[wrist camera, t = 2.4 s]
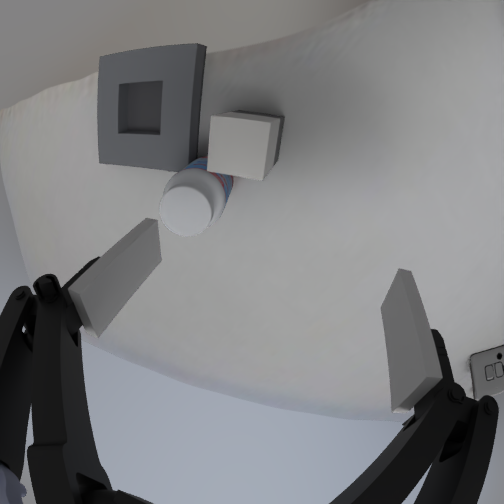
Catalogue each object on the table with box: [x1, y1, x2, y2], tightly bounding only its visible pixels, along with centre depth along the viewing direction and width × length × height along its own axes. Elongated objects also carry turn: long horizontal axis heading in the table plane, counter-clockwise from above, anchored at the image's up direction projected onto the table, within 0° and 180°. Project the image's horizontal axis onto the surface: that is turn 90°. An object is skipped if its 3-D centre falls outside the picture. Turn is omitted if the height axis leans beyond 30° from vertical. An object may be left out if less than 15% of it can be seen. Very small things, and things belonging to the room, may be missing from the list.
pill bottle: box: [159, 156, 233, 237], centre depth 27 cm, size 6×6×11 cm
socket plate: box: [97, 43, 207, 172], centre depth 28 cm, size 15×14×2 cm
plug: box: [207, 110, 285, 181], centre depth 25 cm, size 5×5×8 cm
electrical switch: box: [470, 346, 504, 401], centre depth 32 cm, size 9×5×9 cm, turn 109°
